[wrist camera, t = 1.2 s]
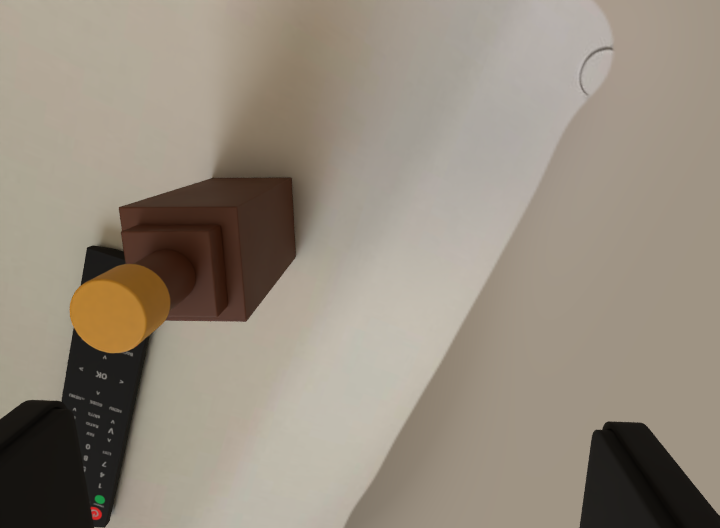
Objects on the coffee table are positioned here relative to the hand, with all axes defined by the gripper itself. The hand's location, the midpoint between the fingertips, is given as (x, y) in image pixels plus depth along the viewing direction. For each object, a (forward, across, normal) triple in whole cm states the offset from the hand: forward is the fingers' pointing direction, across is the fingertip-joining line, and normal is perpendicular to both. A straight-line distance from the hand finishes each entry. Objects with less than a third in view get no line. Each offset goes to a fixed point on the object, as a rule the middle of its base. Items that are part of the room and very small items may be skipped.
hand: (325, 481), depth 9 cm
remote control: (+27, +22, +14) cm, 37 cm away
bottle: (+27, +9, 0) cm, 28 cm away
